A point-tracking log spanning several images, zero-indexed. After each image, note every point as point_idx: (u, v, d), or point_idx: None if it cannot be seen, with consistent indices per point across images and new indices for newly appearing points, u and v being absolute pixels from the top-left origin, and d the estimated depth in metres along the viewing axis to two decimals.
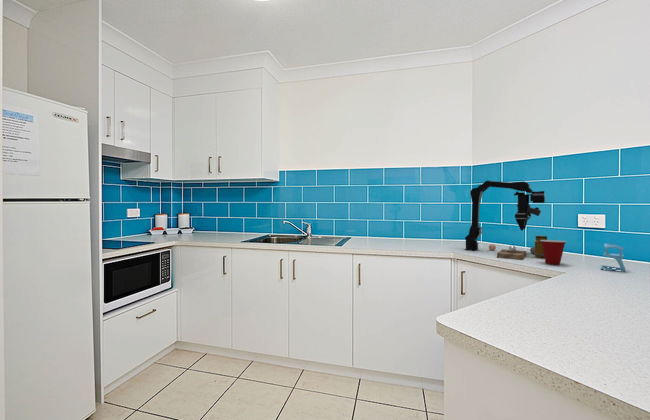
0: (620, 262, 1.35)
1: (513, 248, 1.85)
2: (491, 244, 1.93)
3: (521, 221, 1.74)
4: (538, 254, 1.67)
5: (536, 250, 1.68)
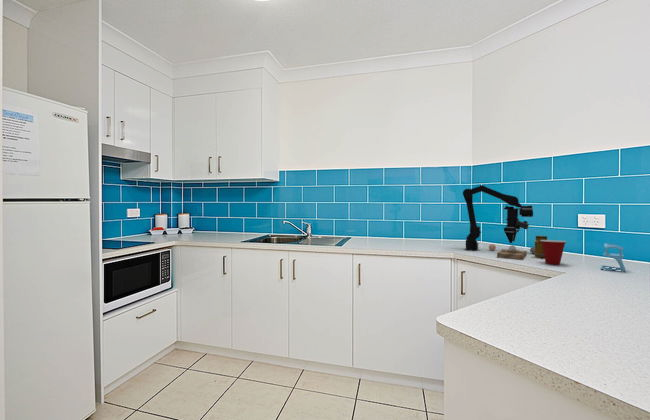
0: (620, 262, 1.35)
1: (513, 248, 1.85)
2: (491, 244, 1.93)
3: (510, 234, 1.82)
4: (538, 254, 1.67)
5: (536, 250, 1.68)
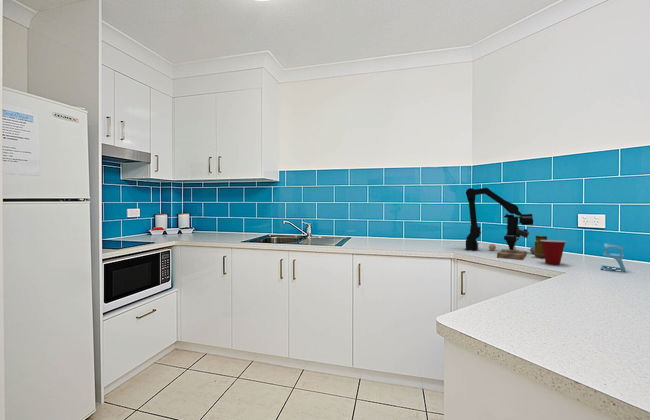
0: (620, 262, 1.35)
1: (513, 248, 1.85)
2: (491, 244, 1.93)
3: (511, 242, 1.84)
4: (538, 254, 1.67)
5: (536, 250, 1.68)
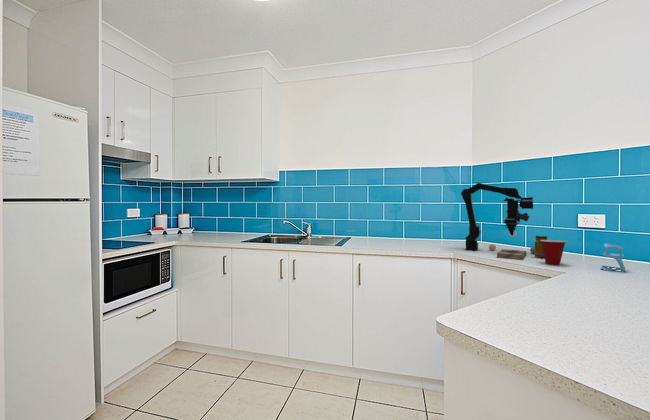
0: (620, 262, 1.35)
1: None
2: (491, 244, 1.93)
3: (511, 226, 1.81)
4: (537, 254, 1.67)
5: (536, 250, 1.68)
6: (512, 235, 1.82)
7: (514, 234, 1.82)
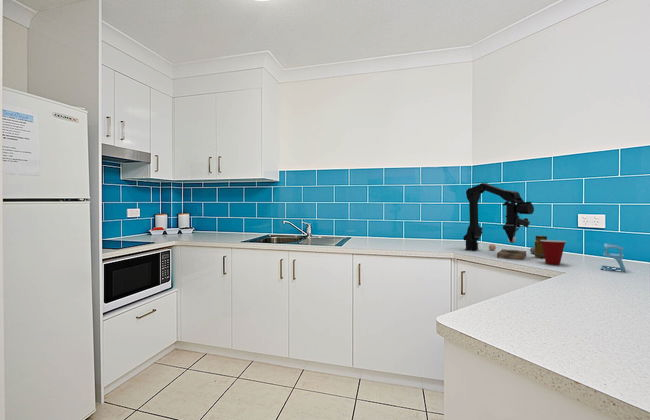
0: (620, 262, 1.35)
1: (513, 239, 1.71)
2: (491, 244, 1.93)
3: (510, 232, 1.70)
4: (537, 254, 1.67)
5: (536, 250, 1.68)
6: (511, 242, 1.71)
7: (514, 241, 1.71)
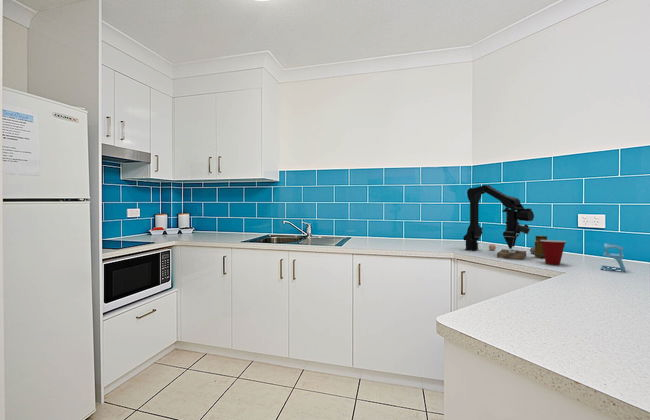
0: (620, 262, 1.35)
1: (513, 252, 1.71)
2: (491, 244, 1.93)
3: (510, 239, 1.68)
4: (538, 254, 1.67)
5: (536, 250, 1.68)
6: None
7: None
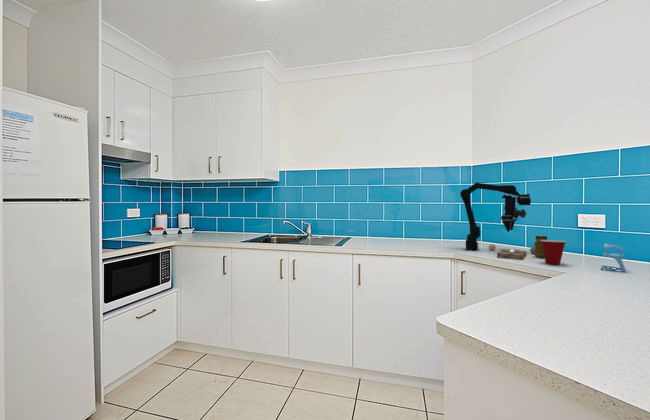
0: (620, 262, 1.35)
1: (513, 252, 1.71)
2: (491, 244, 1.93)
3: (507, 223, 1.83)
4: (537, 254, 1.67)
5: (536, 250, 1.68)
6: None
7: None
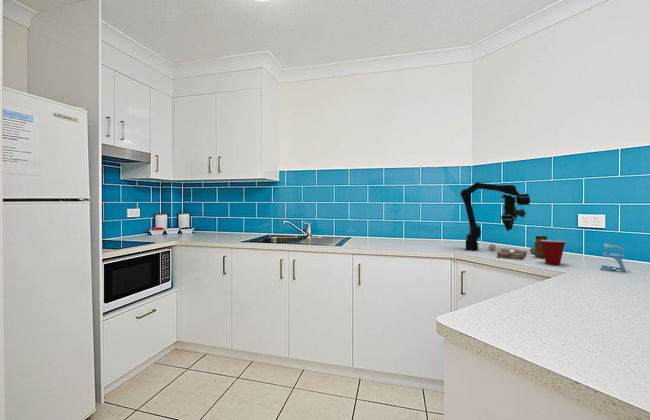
0: (620, 262, 1.35)
1: (513, 252, 1.71)
2: (491, 244, 1.93)
3: (507, 222, 1.85)
4: (538, 254, 1.67)
5: (536, 250, 1.68)
6: None
7: None
